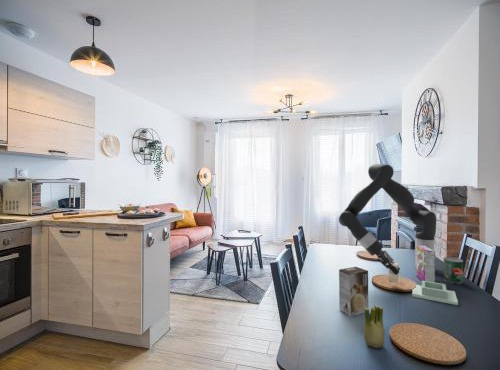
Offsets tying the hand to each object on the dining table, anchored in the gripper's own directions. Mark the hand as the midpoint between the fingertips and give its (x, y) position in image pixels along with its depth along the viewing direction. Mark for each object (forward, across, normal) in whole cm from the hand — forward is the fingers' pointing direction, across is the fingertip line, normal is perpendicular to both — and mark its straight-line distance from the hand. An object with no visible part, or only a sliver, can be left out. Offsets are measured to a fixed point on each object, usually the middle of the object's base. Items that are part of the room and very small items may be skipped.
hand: (398, 271), depth 130 cm
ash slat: (+2, 0, +5) cm, 5 cm away
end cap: (+15, -2, -5) cm, 16 cm away
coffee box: (-4, -36, +14) cm, 39 cm away
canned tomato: (+22, +24, -11) cm, 34 cm away
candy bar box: (+13, +18, -2) cm, 22 cm away
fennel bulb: (+3, -56, +7) cm, 57 cm away
